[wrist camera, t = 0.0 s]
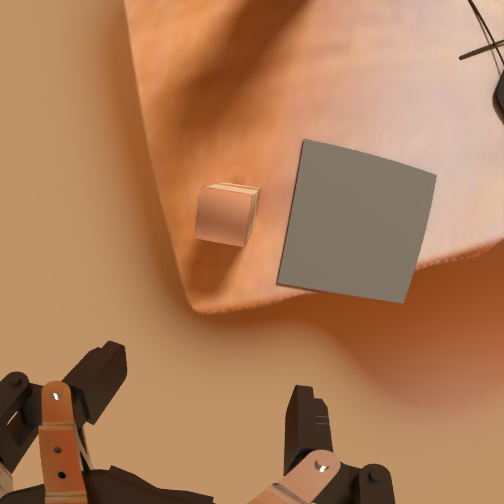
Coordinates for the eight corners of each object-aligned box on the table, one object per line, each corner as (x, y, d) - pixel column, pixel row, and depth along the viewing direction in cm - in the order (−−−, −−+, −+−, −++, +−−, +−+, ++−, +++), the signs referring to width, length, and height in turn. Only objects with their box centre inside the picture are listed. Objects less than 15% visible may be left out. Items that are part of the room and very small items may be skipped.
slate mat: (303, 139, 36) (304, 139, 35) (434, 175, 35) (436, 175, 34) (277, 281, 41) (277, 282, 41) (401, 301, 40) (403, 303, 40)
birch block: (224, 182, 38) (200, 187, 27) (260, 188, 38) (251, 195, 27) (219, 218, 40) (193, 238, 28) (254, 224, 40) (243, 247, 28)
